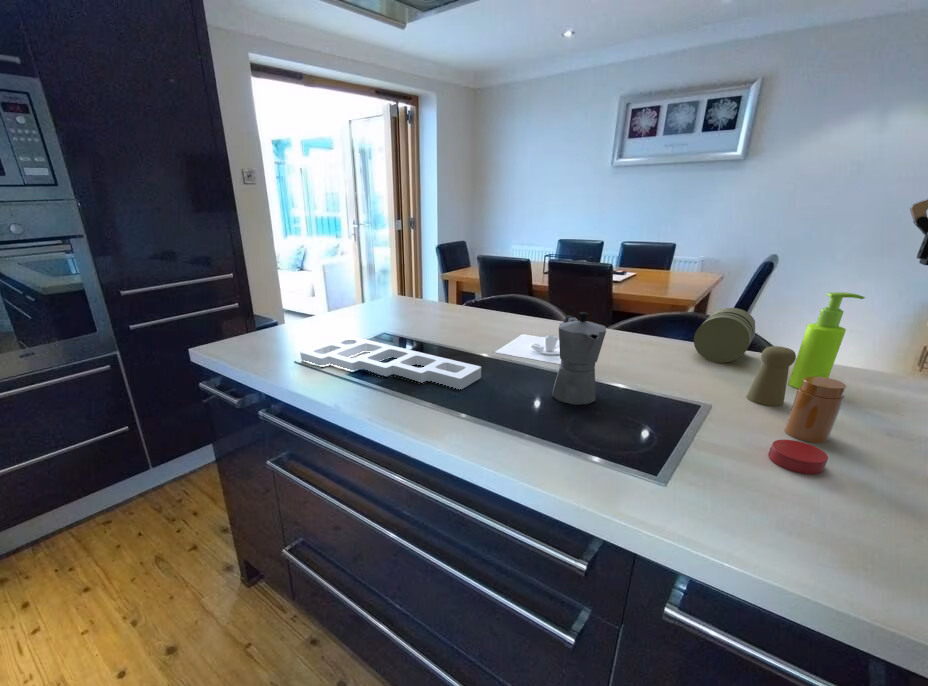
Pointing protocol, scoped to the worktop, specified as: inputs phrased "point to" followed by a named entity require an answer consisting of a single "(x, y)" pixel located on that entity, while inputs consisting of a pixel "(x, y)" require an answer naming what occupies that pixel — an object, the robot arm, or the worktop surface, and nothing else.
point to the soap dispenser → (821, 342)
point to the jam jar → (815, 409)
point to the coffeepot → (578, 360)
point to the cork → (772, 376)
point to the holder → (393, 362)
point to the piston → (725, 335)
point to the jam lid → (798, 456)
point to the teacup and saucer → (534, 348)
